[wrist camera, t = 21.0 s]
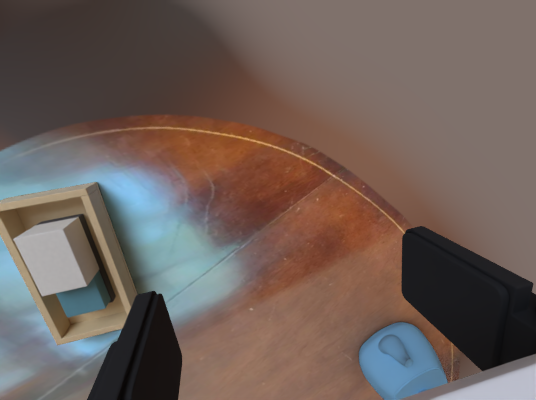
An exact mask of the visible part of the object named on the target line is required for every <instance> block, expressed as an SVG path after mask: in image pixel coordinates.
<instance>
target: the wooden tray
mask: <svg viewBox="0 0 536 400" xmlns="http://www.w3.org/2000/svg"><path fill="white" fill-rule="evenodd" d="M78 214H84V217H85V219H86V222H87V225H88V227H89V230H90V232H91V235H92V237H93V240H94V242H95V245H96V247H97V250H98V252H99V255H100V257H101V260H102V262H103V265H104V268H105V270H106V273H107V275H108V278H109V280H110V283H111V285H112V288H113V290H114V293H115V295H116V297H115V299H114V301H113V302H111V303H108V305H107V307H106V308H105V309H101V310H97V311H93V312H89V313H85V314H81V315H77V316H72V317H68V318H67V316H66V314H65V312H64V310H63V308H62V306H61V303H60V301H59V299H58V297H57V295H56V293H55V294H51V295H46V296H42V295H41V293H40V291H39V289H38V287H37V285H36V283H35V281H34V279H33V277H32V275H31V273H30V271H29V269H28V267H27V265H26V263H25V261H24V259H23V257H22V255H21V253H20V251H19V249H18V247H17V245H16V243H15V241H14V238H16V237H17V236H19V235H21V234H22V233H24V232H25V231H27V230H29V229H30V228H32V227H33V226H35V225H37V224H38V223H40V222H41V221H47V220H52V219H57V218H62V217H67V216H72V215H78ZM0 235H1V237H2V239H3V241H4V243H5V245H6V247H7V249H8V251H9V253H10V255H11V256H12V258H13V260H14V262H15V264H16V266H17V268H18V270H19V272H20V274H21V276H22V278H23V280H24V282H25V283H26V285H27V287H28V289H29V291H30V293H31V295H32V297H33V299H34V301H35V303H36V305H37V307H38V309H39V310H40V312H41V314H42V316H43V318H44V320H45V322H46V324H47V326H48V328H49V330H50V332H51V334H52V336H53V337H54V339H55V342H56V343H57V345H61V344H65V343H69V342H73V341H76V340H80V339H84V338H88V337H92V336H96V335H100V334H103V333H107V332H111V331H115V330H119V329H123V326H124V324H125V321H126V319H127V316H128V314H129V311H130V309H131V307H132V304H133V302H134V299H135V297H136V295H138V294H137V291H136V288H135V286H134V283H133V280H132V277H131V275H130V272H129V269H128V266H127V264H126V261H125V258H124V255H123V253H122V250H121V247H120V244H119V242H118V239H117V236H116V233H115V231H114V228H113V225H112V223H111V220H110V217H109V214H108V212H107V209H106V206H105V203H104V201H103V198H102V195H101V192H100V190H99V187H98V184H97V182H93V183H88V184H82V185H76V186H71V187H65V188H60V189H54V190H49V191H43V192H38V193H32V194H26V195H21V196H15V197H10V198H6V199H3V200H1V201H0Z"/></svg>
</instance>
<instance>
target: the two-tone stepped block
mask: <svg viewBox="0 0 536 400" xmlns="http://www.w3.org/2000/svg"><path fill="white" fill-rule="evenodd" d="M14 241H15V243H16V245H17V247H18V249H19V251H20V253H21V255H22V257H23V259H24V261H25V263H26V265H27V267H28V269H29V271H30V273H31V275H32V277H33V279H34V281H35V283H36V285H37V287H38V289H39V291H40V293H41V295H42V296H46V295H51V294H55V293H56V295H57V297H58V299H59V301H60V303H61V306H62V308H63V310H64V312H65V314H66V316H67V318H68V317H72V316H77V315H81V314H85V313H89V312H93V311H97V310H101V309H105V308H106V307H107V305H108V303H111V302H113V301H114V299H115V297H116V295H115V293H114V290H113V288H112V285H111V283H110V280H109V278H108V275H107V273H106V270H105V268H104V265H103V262H102V260H101V257H100V255H99V252H98V250H97V247H96V245H95V242H94V240H93V237H92V235H91V232H90V230H89V227H88V225H87V222H86V219H85V217H84V214H78V215H72V216H67V217H62V218H57V219H52V220H47V221H41V222H40V223H38V224H37V225H35V226H33V227H32V228H30V229H29V230H27V231H25V232H24V233H22V234H21V235H19V236H17V237H16V238H14Z"/></svg>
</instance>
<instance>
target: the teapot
mask: <svg viewBox="0 0 536 400" xmlns="http://www.w3.org/2000/svg"><path fill="white" fill-rule="evenodd" d="M359 363H360V366H361V369H362V372H363V374H364V376H365V377H366V379H367V380H368V382H369V383H370V384H371V386H372V387H373V388H374V389H375V390H376V392H377V393H378V394H379V395H380V396H381V397H382V398H383V399H384V400H400V399H403V398H405V397H408V396H411V395H414V394H417V393H420V392H423V391H426V390H429V389H432V388H435V387H438V386H440V385H443V384H446V383H448V381H447V378H446V375H445V373H444V370H443V368H442V365H441V363H440V360H439V358H438V356H437V354H436V352H435V350H434V349H433V347H432V345H431V344H430V343H429V341H428V340H427V338H426V337H425V336H424V334H423V333H422V332H421V331H420V330H419V329H418V328H417V327H416V326H414V325H412V324H409V323H405V322H397V323H394V324H391V325H389V326H387V327H385V328H383V329H381V330H379V331H378V332H376V333H375V334H374V335H372V336H371V337H370V338H369V339H368V340H367V341H366V342H365V343H364V344H363V345H362V346H361V348H360V351H359Z"/></svg>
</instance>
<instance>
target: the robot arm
mask: <svg viewBox="0 0 536 400" xmlns="http://www.w3.org/2000/svg"><path fill="white" fill-rule="evenodd" d="M532 287H533V283H532V282H530V281H528V280H526V279H524V278H522V277H520V276H518V275H516V274H514V273H512V272H511V271H509V270H507V269H505V268H503V267H501V266H499V265H497V264H495V263H493V262H491V261H489V260H487V259H485V258H483V257H482V256H480V255H478V254H476V253H474V252H472V251H470V250H468V249H466V248H464V247H462V246H460V245H458V244H456V243H454V242H453V241H451V240H449V239H447V238H445V237H443V236H441V235H439V234H437V233H435V232H433V231H431V230H429V229H427V228H425V227H422V226H420V227H416V228H411V229H408V230H406V232H405V234H404V235H403V238H402V294H403V296H404V298H405V299H406V300H407V301H408V302H409V303H410V304H411V305H412V306H413V307H414V308H415V309H417V310H418V311H419V312H420V313H421V314H422V315H423V316H424V317H425V318H426V319H427V320H428V321H429V322H430V323H431V324H433V325H434V326H435V327H436V328H437V329H438V330H439V331H440V332H441V333H442V334H443V335H444V336H445V337H446V338H447V339H449V340H450V341H451V342H452V343H453V344H454V345H455V346H456V347H457V348H458V349H459V350H460V351H461V352H463V353H464V354H465V355H466V356H467V357H468V358H469V359H470V360H471V361H472V362H473V363H474V364H475V365H476V366H478V368H480V369H481V370H482V372H479V373H476V374H473V375H470V376H467V377H464V378H462V379H458V380H455V381H452V382H449V383H446V384H443V385H440V386H438V387H435V388H432V389H429V390H426V391H423V392H420V393H417V394H414V395H411V396H408V397H405V398H403V399H400V400H536V294H534V293H532ZM181 368H182V354H181V350H180V347H179V344H178V341H177V338H176V335H175V332H174V329H173V326H172V323H171V320H170V317H169V314H168V311H167V307H166V304H165V301H164V298H163V296H162V294H156V292H155V291H151V292H147V293H143V294H139V295H136V297H135V299H134V302H133V304H132V307H131V309H130V311H129V314H128V316H127V319H126V321H125V324H124V326H123V329H122V331H121V333H120V336H119V338H118V341H116V342H114V343H113V344H112V345H111V346H110V348H109V350H108V353H107V355H106V357H105V359H104V362H103V364H102V366H101V369H100V371H99V373H98V376H97V378H96V380H95V383H94V385H93V387H92V390H91V392H90V394H89V397H88V399H87V400H178V395H179V386H180V377H181Z"/></svg>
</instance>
